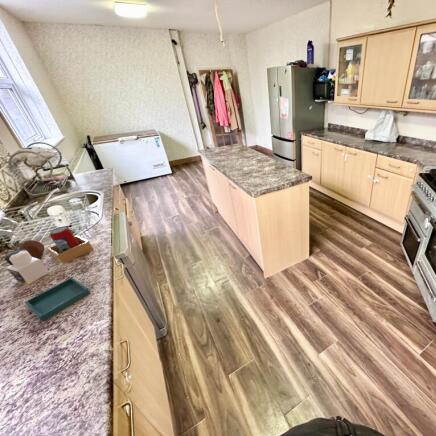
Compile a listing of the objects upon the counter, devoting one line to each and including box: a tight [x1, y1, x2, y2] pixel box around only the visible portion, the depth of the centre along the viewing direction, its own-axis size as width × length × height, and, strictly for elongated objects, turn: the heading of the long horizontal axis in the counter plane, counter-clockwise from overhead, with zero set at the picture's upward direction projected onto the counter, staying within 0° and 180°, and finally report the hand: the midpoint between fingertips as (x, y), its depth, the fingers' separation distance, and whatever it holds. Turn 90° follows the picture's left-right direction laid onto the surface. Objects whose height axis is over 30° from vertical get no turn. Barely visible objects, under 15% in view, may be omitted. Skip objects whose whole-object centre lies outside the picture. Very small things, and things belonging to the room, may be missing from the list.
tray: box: [24, 276, 91, 323], centre depth 82 cm, size 13×13×2 cm
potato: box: [18, 239, 45, 259], centre depth 104 cm, size 8×12×8 cm, turn 47°
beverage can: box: [49, 226, 79, 253], centre depth 104 cm, size 7×7×12 cm
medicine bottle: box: [4, 249, 50, 285], centre depth 90 cm, size 7×7×12 cm
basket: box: [46, 235, 94, 265], centre depth 106 cm, size 12×12×4 cm
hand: (15, 229), depth 93 cm, fingers open, 8 cm apart
